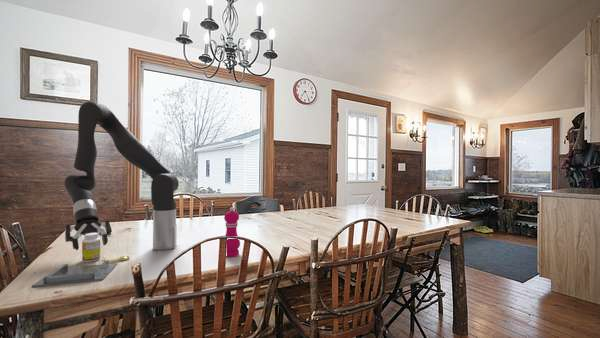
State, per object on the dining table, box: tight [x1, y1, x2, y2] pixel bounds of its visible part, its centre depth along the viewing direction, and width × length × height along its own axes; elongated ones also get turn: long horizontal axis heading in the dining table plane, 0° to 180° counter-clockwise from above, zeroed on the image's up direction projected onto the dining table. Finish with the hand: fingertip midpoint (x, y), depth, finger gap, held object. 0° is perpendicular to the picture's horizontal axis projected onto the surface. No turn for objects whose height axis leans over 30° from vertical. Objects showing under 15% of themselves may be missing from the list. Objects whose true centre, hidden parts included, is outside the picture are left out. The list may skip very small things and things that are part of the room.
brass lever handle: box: [107, 255, 130, 264], centre depth 103 cm, size 7×3×1 cm, turn 143°
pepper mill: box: [223, 206, 241, 258], centre depth 112 cm, size 7×7×20 cm
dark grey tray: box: [31, 260, 118, 288], centre depth 89 cm, size 18×14×2 cm
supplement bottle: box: [81, 233, 101, 263], centre depth 103 cm, size 6×6×10 cm
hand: (91, 246), depth 103 cm, fingers open, 8 cm apart
